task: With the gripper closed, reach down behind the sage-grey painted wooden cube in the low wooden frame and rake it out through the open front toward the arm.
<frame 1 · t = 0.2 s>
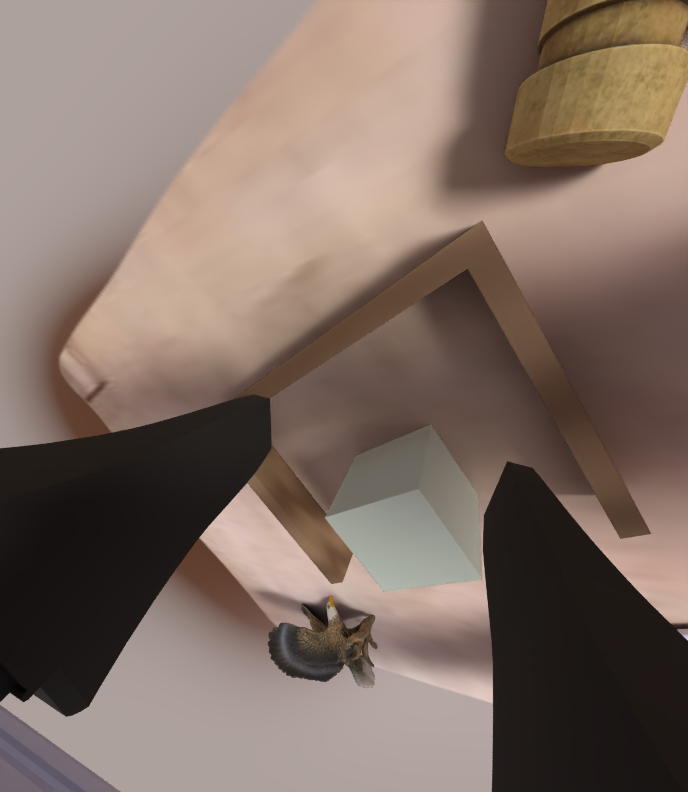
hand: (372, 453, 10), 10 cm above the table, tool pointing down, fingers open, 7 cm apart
cube: (414, 474, 22), on the table
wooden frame: (394, 447, 21), on the table
eagle figurine: (338, 607, 32), on the table
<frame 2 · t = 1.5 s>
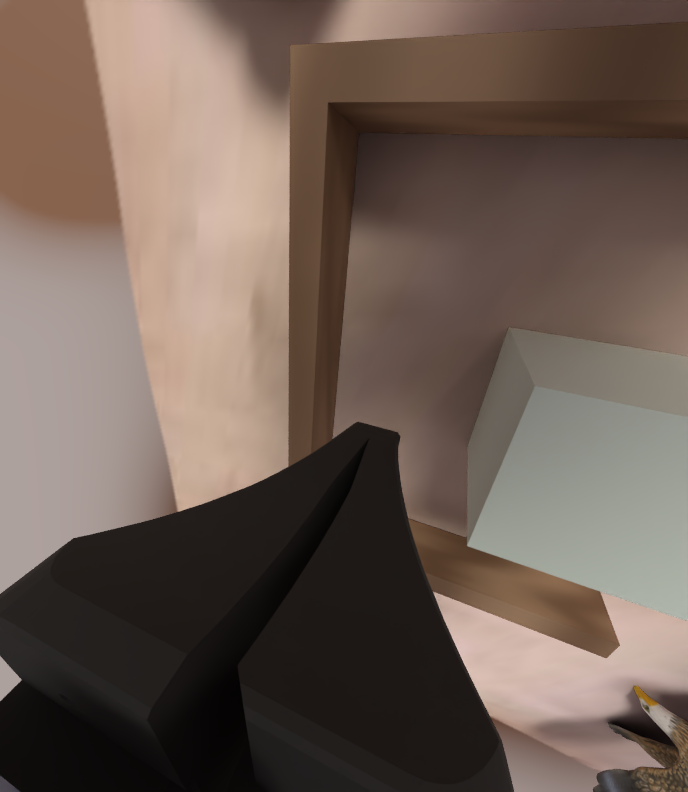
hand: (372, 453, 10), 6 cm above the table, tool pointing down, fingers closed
cube: (560, 408, 13), on the table
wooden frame: (497, 395, 14), on the table
eagle figurine: (667, 702, 18), on the table
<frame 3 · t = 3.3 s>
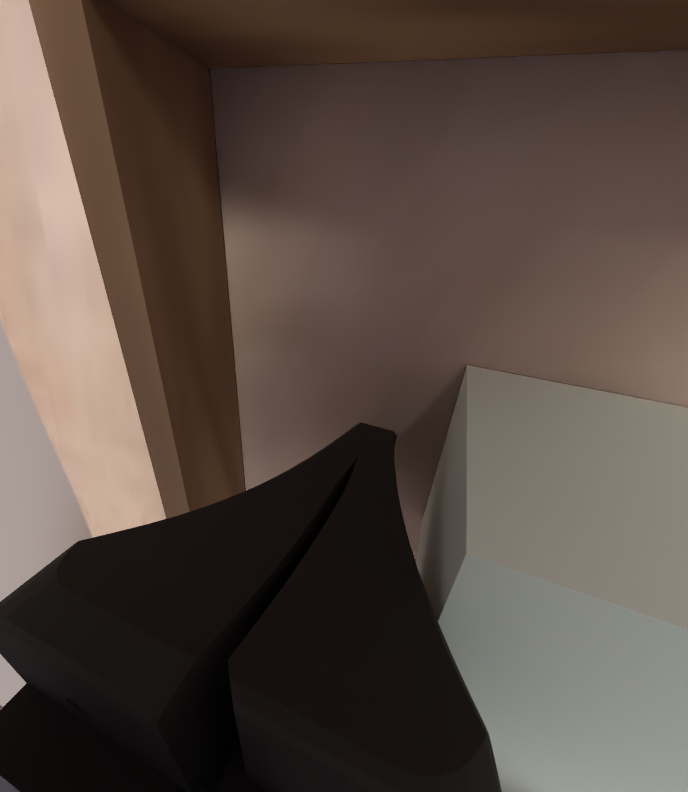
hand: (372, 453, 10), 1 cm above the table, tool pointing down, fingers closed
cube: (546, 480, 9), on the table, touching gripper
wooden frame: (439, 451, 10), on the table
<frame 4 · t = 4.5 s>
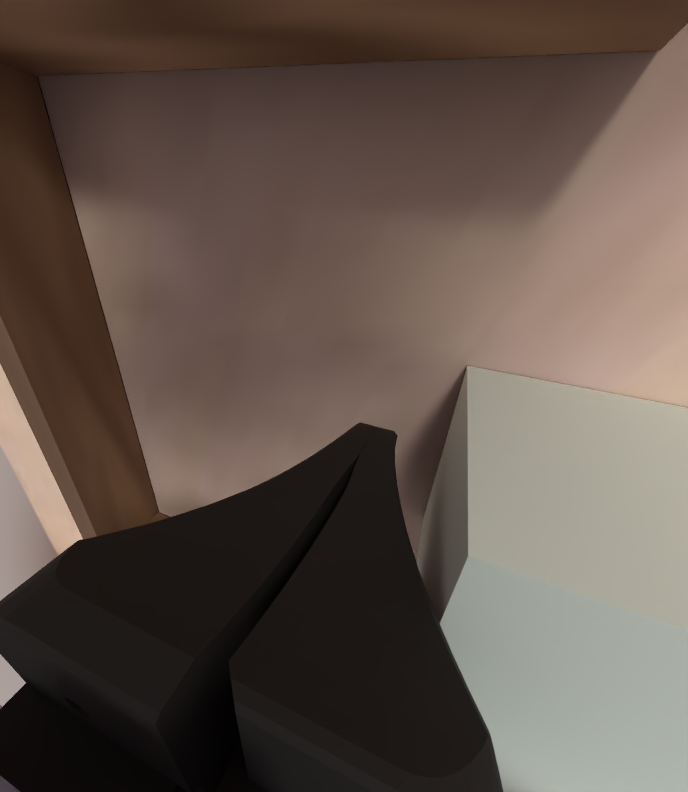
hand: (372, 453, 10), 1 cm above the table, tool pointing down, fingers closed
cube: (547, 481, 9), on the table, touching gripper
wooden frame: (273, 406, 11), on the table
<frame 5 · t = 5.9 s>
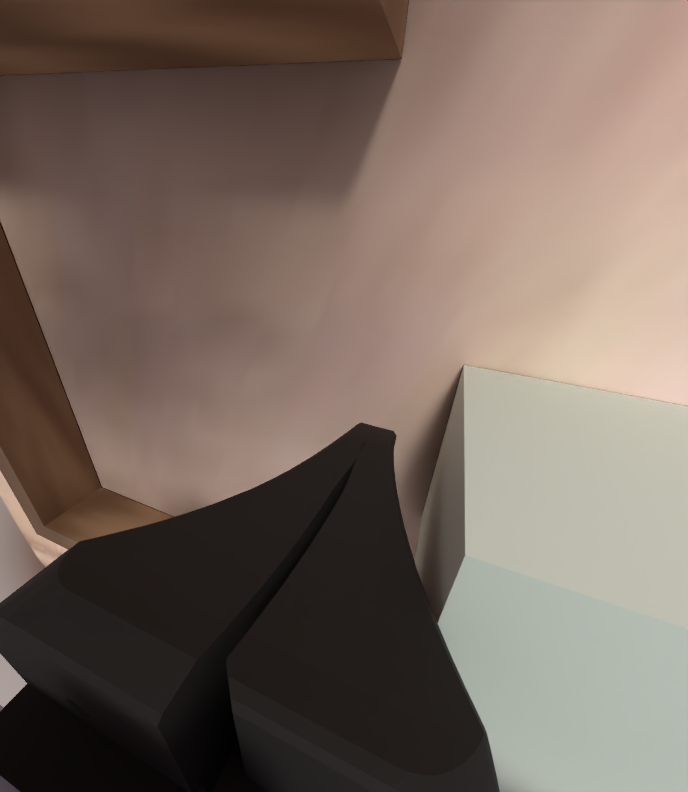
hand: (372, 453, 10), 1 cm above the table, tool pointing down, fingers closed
cube: (544, 479, 9), on the table, touching gripper
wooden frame: (177, 379, 13), on the table
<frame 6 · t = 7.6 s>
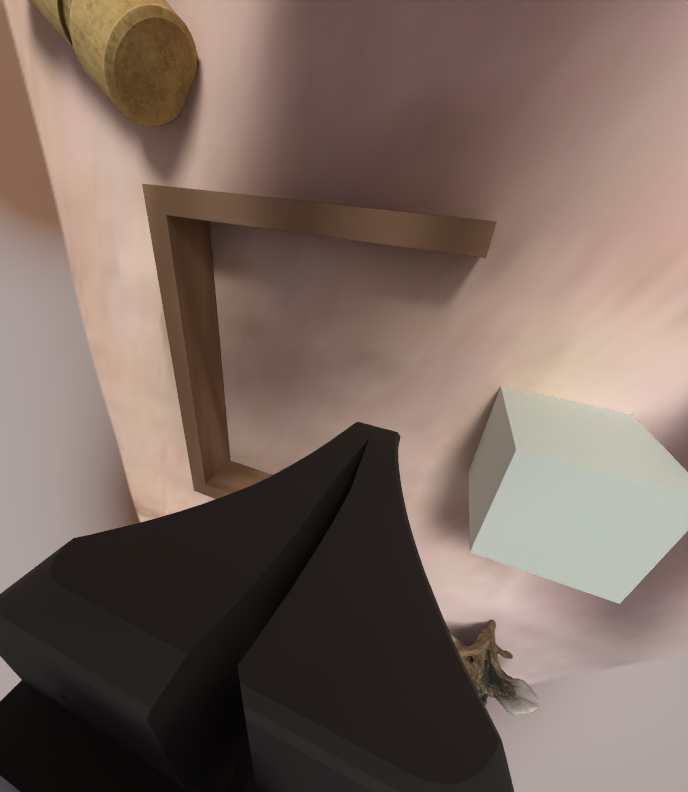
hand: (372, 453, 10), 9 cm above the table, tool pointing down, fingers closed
cube: (540, 445, 17), on the table
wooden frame: (318, 388, 20), on the table
eagle figurine: (463, 635, 27), on the table
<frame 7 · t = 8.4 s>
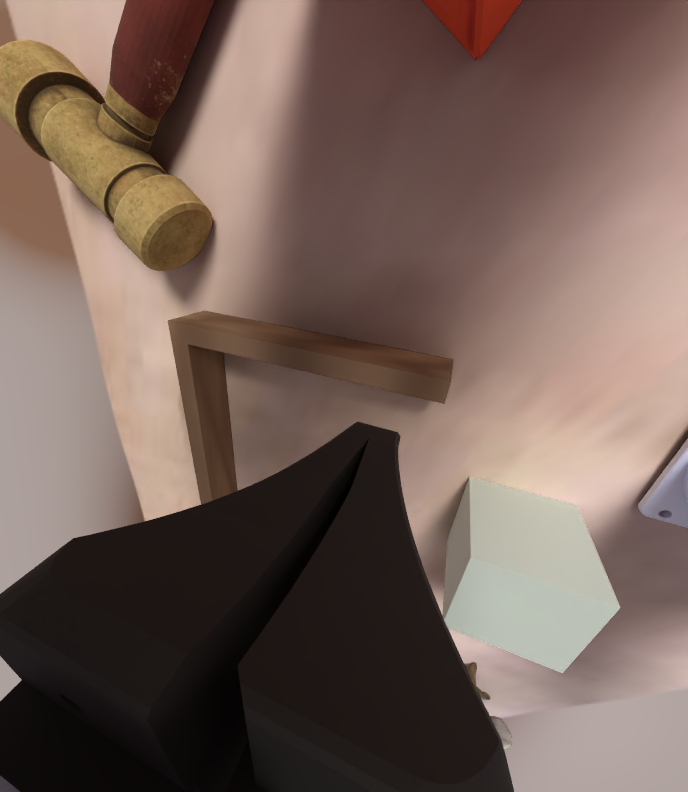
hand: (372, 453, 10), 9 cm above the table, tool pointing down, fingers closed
cube: (505, 523, 20), on the table
gavel: (209, 14, 14), on the table
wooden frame: (316, 465, 24), on the table
eagle figurine: (450, 673, 30), on the table
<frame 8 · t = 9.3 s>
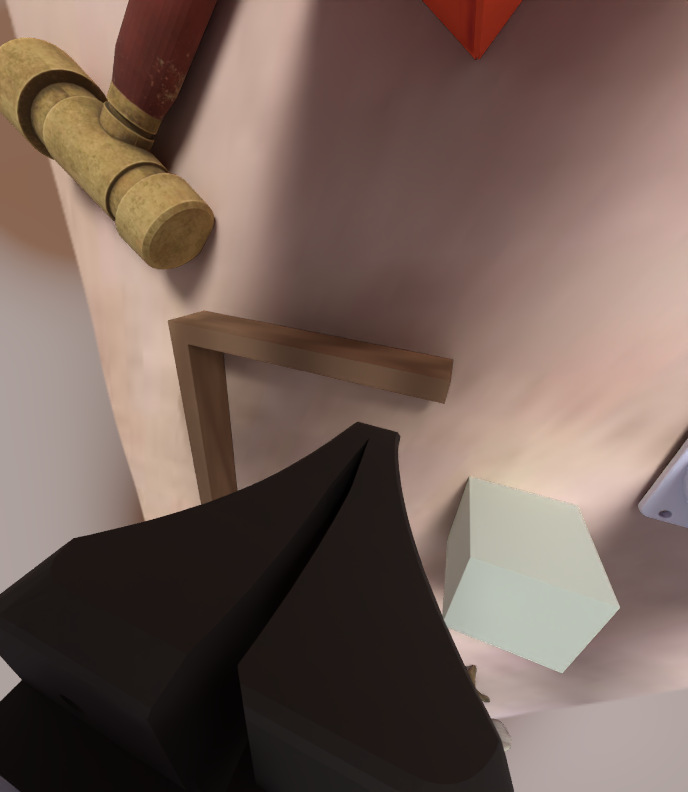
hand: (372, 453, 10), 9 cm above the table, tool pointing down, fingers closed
cube: (505, 523, 20), on the table
gavel: (212, 13, 14), on the table
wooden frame: (316, 465, 24), on the table
eagle figurine: (450, 675, 30), on the table
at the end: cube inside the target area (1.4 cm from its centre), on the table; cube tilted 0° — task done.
